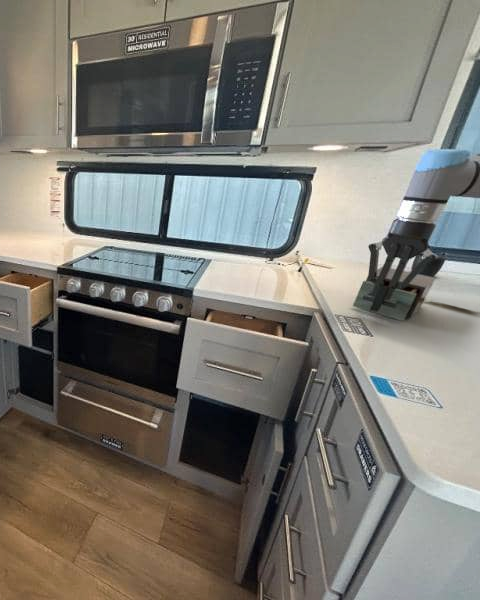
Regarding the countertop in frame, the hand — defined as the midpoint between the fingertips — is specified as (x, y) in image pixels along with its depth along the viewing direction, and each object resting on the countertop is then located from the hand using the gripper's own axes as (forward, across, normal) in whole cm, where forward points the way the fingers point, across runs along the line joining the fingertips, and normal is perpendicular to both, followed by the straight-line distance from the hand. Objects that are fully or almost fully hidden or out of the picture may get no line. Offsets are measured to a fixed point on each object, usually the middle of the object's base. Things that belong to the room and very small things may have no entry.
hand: (374, 309), depth 88 cm
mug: (+4, 0, +74) cm, 75 cm away
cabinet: (+4, 0, +22) cm, 23 cm away
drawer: (+3, 0, +12) cm, 12 cm away
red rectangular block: (+2, +1, +15) cm, 15 cm away
